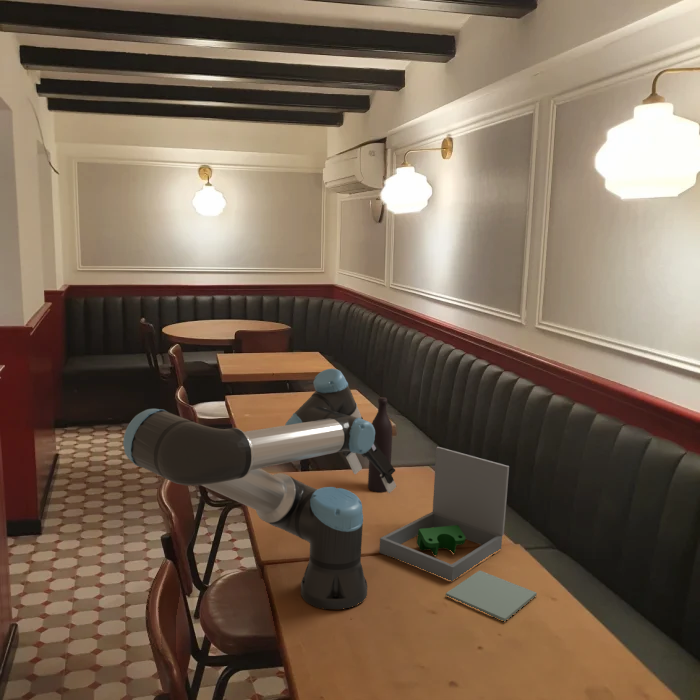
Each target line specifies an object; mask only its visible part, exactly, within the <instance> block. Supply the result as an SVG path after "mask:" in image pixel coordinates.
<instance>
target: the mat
mask: <svg viewBox="0 0 700 700" xmlns="http://www.w3.org/2000/svg"><path fill="white" fill-rule="evenodd" d="M446 595H447V596H449V597H451V598H454V599H456V600H458V601H461V602H462V603H465V604H467V605H469V606H471V607H474V608H476V609H479V610H480V611H483V612H485V613H487V614H489V615H491V616H493V617H496V618H498V619H500V620H503V621H506V620H507V619H509V618H510V617H511V616H512V615H513V614H515V613H516V612H517V611H518V610H520V609H521V608H522V607H523V606H524V605H526V604H527V603H528V602H529V601H530V600H531V599H533V598H534V597H535V596H536V597H537V592H536V591H533V590H530V589H528V588H527V587H523V586H520V585H518V584H516V583H513V582H510V581H507V580H506V579H503V578H501V577H498V576H496V575H492V574H490V573H487V572H485V571H483V570H477V571H476V572H475V573H473V574H472V575H470V576H469V577H468V578H466V579H464V580H463V581H462V582H460V583H458V584H457V585H455V586H454V587H453V588H451V589H449V590H448V591H447V592H445V596H446ZM536 597H535V598H536ZM535 598H534V599H535ZM534 599H533V600H534ZM529 603H530V602H529ZM529 603H528V604H529ZM528 604H527V605H528ZM527 605H526V606H527ZM523 608H524V607H523ZM523 608H522V609H523ZM522 609H521V610H522ZM521 610H520V611H521ZM517 613H518V612H517ZM517 613H516V614H517ZM516 614H515V615H516ZM511 618H512V617H511ZM511 618H510V619H511ZM510 619H509V620H510Z"/></svg>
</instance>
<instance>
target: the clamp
mask: <svg viewBox="0 0 700 700" xmlns="http://www.w3.org/2000/svg"><path fill="white" fill-rule="evenodd" d="M466 540H467V539H466V537H465V535H464V534H463V532H462V531H461V529H460V527H459V526H458V525H454V526H444V527H432V528H422V529H419V531H418V535H417V536H416V544H417V546H418V548H419V550H420V551H429V550H430V552H431V553H432V552H433V553H432V555H433V554H434V555H437V556H438V553H439V550H441V549H445V550H448V551H449V550H451V551H452V552H453V553H455V554H456V549H457V546H459V545H460V546H462V545H464V544H465V542H466ZM451 551H450V552H451ZM434 555H433V556H434Z"/></svg>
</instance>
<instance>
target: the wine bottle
mask: <svg viewBox="0 0 700 700" xmlns="http://www.w3.org/2000/svg"><path fill="white" fill-rule="evenodd" d="M377 403H378V409H377V413H376V415H375V417H374V418H373V420H372V422H371V424H372V425H373V427H374V429H375V440H374V441H375V442H376V443H377V445H378V447H379V449H380V450H381V452H382V453H383V454H384V456H385V457H386V458H387V460H388V461H389V462H390V464H391V465H392V452H393V451H392V448H393V425H392V421H391V420H390V417H389V415H388V413H387V412H388V411H387V404H388V398H387V397H385V396H381V397H379V398H378V400H377ZM367 475H368V477H367V478H368V480H367V488H368V490H370V491H372V492H375V491H376V492H377V493H385V492H387V490H386V487H385V485H384V483H383V481H382V479H381V476H380V475H381V473H380V472H379V471H378V470H377V469H376V468H375V466H374V465H373V464H372V463H371V462H370V461H369V460H368V474H367ZM376 492H375V493H376Z"/></svg>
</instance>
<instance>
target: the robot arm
mask: <svg viewBox="0 0 700 700" xmlns="http://www.w3.org/2000/svg"><path fill="white" fill-rule="evenodd" d="M346 379H347V378H346V377H345V376H344V374H343V373H342V371H341V370H339V369H337V368H327V369H325V370H322V371H320V372H319V373H318V374H317V375H315V377H314V380H313V387H314V388H313V389H314V390H315V391H314V392H313V393H312V394H311V395H310V397H308V399H307V400H306V401H305V402H304V403H303V404H302V405H301V406H300V407H299V408H298V409H297V410H296V411H295V412H293V413H292V415H291V417H290V418H288V420H287V421H286V423H285V424H284V425H278V426H273V427H267V428H261V429H252V430H247V431H243V430H242V429H240V428H237V427H231V428H225V429H224V428H215V427H211V426H208V425H203V424H200V423H197V422H195V421H193V420H189V419H187V418H185V417H182V416H179V415H176V414H174V413H171V412H169V411H167V410H165V409H161V408H160V409H159V408H148V409H145V410H143V411H141V412H139V413H137V414H136V415H135V416H134V417H133V418H132V420H131V421H130V422H129V424H128V425H127V426H126V428H125V430H124V435H123V443H122V444H123V449H124V454H125V456H126V457H127V459H128V460H130V462H132V463H133V465H135V466H137V467H140V468H143V469H145V470H148V471H149V472H152V473H154V474H156V475H157V476H159V477H161V478H163V479H166V480H168V481H170V482H172V483H174V484H178V485H181V486H202V487H204V488H206V489H209V490H211V491H212V492H215V493H218V494H220V495H221V496H224V497H227V498H229V499H231V500H233V501H235V502H238V503H239V504H242V505H244V506H246V507H249V508H251V509H253V510H255V511H256V514H257V516H258V518H259V519H260V520H262V521H263V522H266V523H268V524H269V525H270V526H273V527H276V528H278V529H281V530H284V531H285V532H287V533H289V534H292V535H293V536H295V537H298V538H299V539H301V540H304V541H305V542H308V543H309V559H308V563H307V565H306V568H305V572H304V574H303V577H302V578H301V583H300V595H301V597H302V598H303V600H304V601H305V602H306V603H307V604H309V605H310V604H311V605H310V606H312V605H313V606H312V607H315V608H318V607H319V609H321V608H324V609H323V610H326V609H343V608H349V607H352V606H355V605H357V604H358V603H360V602H362V601H363V600H364V599H365V598H366V599H367V597H366V596H368V582H367V579H366V577H365V575H364V570H363V565H362V562H361V561H362V560H361V559H362V542H363V525H364V514H363V503H362V501H361V499H360V498H359V497H358V495H357V494H355V493H353V492H352V491H350V490H348V489H346V488H342V487H339V488H338V487H337V488H336V486H324V487H320V488H315V487H312V486H310V485H308V484H305V483H304V482H302V481H299V480H298V479H295V478H294V477H292V476H290V475H288V474H286V473H282V472H281V473H274V474H273V473H270V472H268V471H266V470H264V469H263V468H270V467H274V466H278V465H281V464H288V463H291V462H296V461H302V460H307V459H312V458H316V457H320V456H325V455H330V454H335V453H341V452H342V455H343V456H344V457H345V458H346V461H347V462H348V464H349V465H348V466H350V469H351V470H352V473H353V475H357V474H358V473H359V472H360V471H361V470H362V469H363V467H362V464H361V462H360V460H359V458H358V456H357V454H359V455H361V456H362V457H363V458H366V459H367V460H368V462H369V461H370V462H371V463H372V464H373V465H374V466H375V468H376V469H377V470H378V471H379V472H380V473H381V475H380V476H381V479H382V481H383V483H384V485H385V487H386V490H387V491H386V492H387V494H391V492H392V491H394V490H395V489H396V487H397V484H396V482H395V479H394V478H393V474H394V472H396V469H395V467H393V465H392V463H391V464H390V462H389V461H388V460H387V458H386V457H385V456H384V454H383V453H382V452H381V450H380V449H379V447H378V445H377V443H376V442H375V441H374V440H375V429H374V427H373V425H372V422H371V421H368V420H365V419H364V418H363V416H362V414H361V412H360V409H359V407H358V403H357V402H356V400H355V398H354V396H353V393H352V391H351V388H350V386H349V382H348V381H347V380H346ZM366 599H365V600H366ZM365 600H364V601H365ZM364 601H363V602H364ZM363 602H362V603H363ZM357 606H358V605H357ZM355 607H356V606H355ZM349 609H350V608H349Z"/></svg>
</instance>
